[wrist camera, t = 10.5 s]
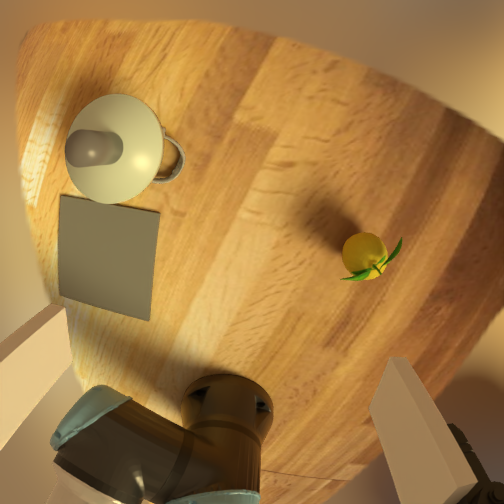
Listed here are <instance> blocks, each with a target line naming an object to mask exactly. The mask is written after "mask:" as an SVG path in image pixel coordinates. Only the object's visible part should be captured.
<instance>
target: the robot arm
mask: <svg viewBox="0 0 504 504" xmlns="http://www.w3.org/2000/svg"><path fill="white" fill-rule="evenodd" d="M72 362H73V359H72V353H71V346H70V340H69V333H68V325H67V317H66V308H65V307H63V306H59V305H56V304H52V303H51V304H50V305H48V306H47V307H46V308H44V309H43V310H42V311H41V312H39V313H38V314H37V315H36V316H34V317H33V318H32V319H30V320H29V321H28V322H26V323H25V324H24V325H22V326H21V327H20V328H19V329H17V330H16V331H15V332H14V333H13V334H11V335H10V336H9V337H7V338H6V339H5V340H4V341H3V342H1V343H0V450H1V449H2V448H3V446H4V445H5V444H6V443H7V441H8V440H9V438H10V437H11V436H12V435H13V433H14V432H15V431H16V430H17V428H18V427H19V426H20V425H21V423H22V422H23V421H24V419H25V418H26V417H27V416H28V415H29V413H30V412H31V411H32V410H33V408H34V407H35V406H36V405H37V404H38V402H39V401H40V400H41V399H42V397H43V396H44V395H45V394H46V393H47V391H48V390H49V389H50V388H51V387H52V385H53V384H54V383H55V382H56V381H57V379H58V378H59V377H60V376H61V375H62V374H63V372H64V371H65V370H66V369H67V368H68V367H69V366H70V364H71V363H72ZM132 399H133V398H132V397H130V396H128V397H127V396H125V395H123V394H121V393H120V392H118V391H116V390H114V389H113V388H111V387H109V386H106V385H97V386H94V387H92V388H91V389H90V390H88V391H87V392H86V393H85V394H84V395H83V396H82V397H81V398H80V399H79V400H78V401H77V402H76V403H75V405H74V406H73V407H72V408H71V409H70V410H69V412H68V413H67V414H66V415H65V417H64V418H63V419H62V421H61V422H60V424H59V425H58V427H57V429H56V431H55V433H54V434H53V435H52V437H51V440H50V445H51V446H52V447H53V449H54V450H55V451H58V453H57V455H56V457H55V459H54V461H53V463H52V464H53V466H54V469H55V472H56V475H57V482H56V484H55V486H54V488H53V490H52V492H51V494H50V496H49V498H48V500H47V502H46V504H141V503H142V501H143V499H145V500H148V501H150V502H152V503H154V504H259V500H260V498H261V496H260V466H261V445H262V443H263V441H264V440H265V438H266V436H267V434H268V432H269V430H270V428H271V425H272V422H273V403H272V400H271V398H270V396H269V395H268V394H267V392H266V391H265V390H264V389H263V388H262V387H260V386H259V385H258V384H256V383H254V382H252V381H250V380H248V379H246V378H243V377H239V376H235V375H227V374H218V375H210V376H206V377H203V378H201V379H198V380H197V381H195V382H194V383H192V384H191V385H190V386H189V387H188V388H187V390H186V392H185V394H184V397H183V400H182V403H181V416H182V423H183V427H181V426H179V425H177V424H175V423H173V422H171V421H169V420H168V419H166V418H164V417H162V416H160V415H158V414H156V413H155V412H153V411H151V410H149V409H147V408H146V407H144V406H142V405H141V404H139V403H137V402H135V401H134V400H132ZM369 411H370V414H371V417H372V419H373V422H374V425H375V428H376V431H377V433H378V436H379V439H380V442H381V445H382V448H383V451H384V454H385V457H386V460H387V463H388V466H389V469H390V471H391V474H392V478H393V481H394V484H395V487H396V490H397V493H398V496H399V500H400V503H401V504H504V484H502V483H500V482H495V481H494V482H491V481H490V479H489V478H488V476H487V474H486V472H485V470H484V468H483V467H482V465H481V463H480V461H479V459H478V458H477V456H476V454H475V453H474V452H473V449H472V447H471V446H470V444H468V440H467V439H466V437H465V435H464V434H463V432H462V431H461V430H460V429H459V428H457V427H456V426H455V425H454V424H453V423H452V424H446V422H445V421H444V419H443V417H442V415H441V414H440V412H439V410H438V409H437V407H436V405H435V403H434V402H433V400H432V398H431V397H430V395H429V394H428V392H427V390H426V389H425V387H424V385H423V384H422V382H421V380H420V379H419V377H418V376H417V374H416V372H415V371H414V369H413V368H412V366H411V364H410V363H409V361H408V360H407V358H406V357H390V358H389V360H388V363H387V365H386V368H385V370H384V373H383V375H382V378H381V380H380V383H379V385H378V387H377V390H376V392H375V394H374V397H373V399H372V401H371V404H370V406H369Z"/></svg>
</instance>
